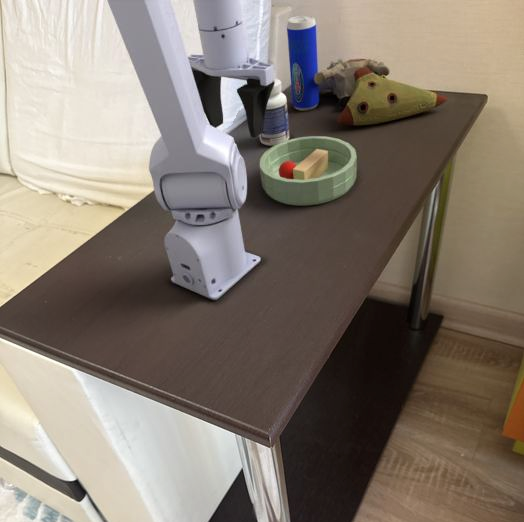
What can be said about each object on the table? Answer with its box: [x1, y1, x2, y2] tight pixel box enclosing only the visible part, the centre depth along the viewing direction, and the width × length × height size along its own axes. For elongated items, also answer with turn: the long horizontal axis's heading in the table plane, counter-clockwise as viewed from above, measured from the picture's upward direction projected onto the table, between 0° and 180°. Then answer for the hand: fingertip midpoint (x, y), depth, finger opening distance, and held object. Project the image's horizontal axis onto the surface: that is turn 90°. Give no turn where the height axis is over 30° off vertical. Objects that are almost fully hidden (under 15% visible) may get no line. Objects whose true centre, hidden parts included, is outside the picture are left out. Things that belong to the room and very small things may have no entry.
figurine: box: [314, 58, 391, 110], centre depth 101 cm, size 10×14×15 cm
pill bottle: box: [258, 78, 290, 147], centre depth 90 cm, size 5×5×10 cm
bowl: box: [259, 135, 358, 207], centre depth 81 cm, size 15×15×4 cm
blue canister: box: [286, 14, 320, 112], centre depth 97 cm, size 5×5×15 cm
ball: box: [279, 161, 296, 179], centre depth 81 cm, size 3×3×3 cm
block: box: [293, 149, 328, 180], centre depth 81 cm, size 7×2×3 cm, turn 145°
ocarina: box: [336, 67, 448, 126], centre depth 92 cm, size 20×5×10 cm
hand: (236, 130), depth 76 cm, fingers open, 7 cm apart
